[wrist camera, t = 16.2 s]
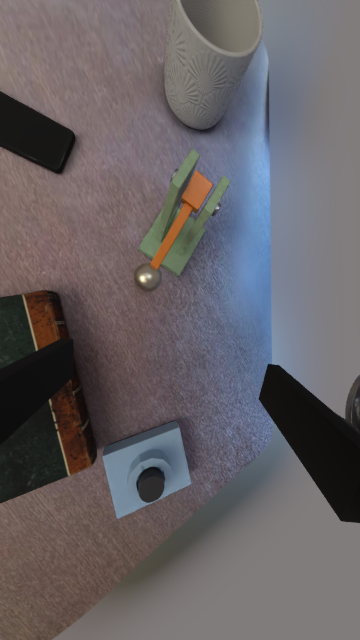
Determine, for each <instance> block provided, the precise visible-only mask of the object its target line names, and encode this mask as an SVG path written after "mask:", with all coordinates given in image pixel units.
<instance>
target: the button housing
mask: <svg viewBox="0 0 360 640" xmlns="http://www.w3.org/2000/svg"><path fill="white" fill-rule="evenodd" d="M102 457H103V461H104V466H105V470H106V474H107V478H108V483H109V487H110V491H111V495H112V500H113V504H114V508H115V512H116V517H117V519H119V518H121V517H123V516H125V515H127V514H130V513H132V512H134V511H136V510H138V509H140V508H142V507H144V506H146V505H148V504H151V503H153V502H151V503H146V502H144V501H142V500H141V499H140V497H139V490H138V480H139V476H140V475H141V473H142V472H143V471H144V470H145V469H147V468H149V467H157V468H159V469H160V470H161V472H162V475H163V480H164V491H163V494H162V495H161V497H160V498H159V499H157V500H160V499H161V498H163V497H165V496H167V495H169V494H172V493H174V492H176V491H178V490H180V489H182V488H184V487H186V486H188V485H190V484H191V479H190V475H189V470H188V465H187V461H186V456H185V451H184V446H183V442H182V437H181V432H180V428H179V425H178V423H177V421H173V422H170V423H167V424H165V425H162V426H159V427H157V428H154V429H151V430H148V431H146V432H143V433H140V434H138V435H135V436H132V437H129V438H127V439H124V440H121V441H119V442H116V443H113V444H110V445H108V446H105V447H104V452H103V456H102ZM157 500H156V501H157ZM154 502H155V501H154Z"/></svg>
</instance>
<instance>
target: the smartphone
mask: <svg viewBox="0 0 360 640" xmlns="http://www.w3.org/2000/svg"><path fill="white" fill-rule="evenodd" d="M74 141H75V135H74V133H73V132H72V131H71V130H69V129H68V128H66V127H64V126H62V125H60V124H59V123H57V122H55V121H53V120H51V119H50V118H48V117H46V116H44V115H42V114H40V113H39V112H37V111H35V110H33V109H31V108H30V107H28V106H26V105H24V104H22V103H20V102H19V101H17V100H15V99H13V98H11V97H10V96H8V95H6V94H4V93H2V92H0V146H1V147H3V148H5V149H7V150H9V151H12V152H14V153H16V154H18V155H20V156H22V157H24V158H26V159H28V160H30V161H32V162H34V163H36V164H38V165H40V166H42V167H44V168H47V169H49V170H51V171H53V172H55V173H61V172H62V169H63V167H64V165H65V162H66V160H67V158H68V155H69V153H70V150H71V148H72V146H73V143H74Z"/></svg>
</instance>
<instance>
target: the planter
mask: <svg viewBox="0 0 360 640" xmlns="http://www.w3.org/2000/svg"><path fill="white" fill-rule="evenodd" d="M262 31H263V19H262V14H261V9H260V5H259V2H258V0H171V1H170V10H169V20H168V31H167V41H166V53H165V68H164V85H165V93H166V97H167V100H168V103H169V105H170V107H171V109H172V111H173V112H174V114H175V115H176V116H177V118H178V119H179V120H180V121H181V122H183V123H184V124H185V125H187V126H189V127H191V128H194V129H201V130H202V129H208V128H210V127H212V126H214V125H215V124H216V123H217V122H218V121H219V120H220V119H221V118H222V116H223V115H224V113H225V111H226V110H227V108H228V106H229V104H230V102H231V101H232V99H233V97H234V95H235V93H236V91H237V89H238V87H239V85H240V83H241V80H242V78H243V76H244V74H245V72H246V70H247V68H248V66H249V64H250V62H251V60H252V58H253V56H254V54H255V51H256V49H257V47H258V45H259V43H260V41H261V37H262Z"/></svg>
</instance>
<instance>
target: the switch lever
mask: <svg viewBox="0 0 360 640" xmlns="http://www.w3.org/2000/svg"><path fill="white" fill-rule="evenodd" d="M212 186H213V183H211V182H210V181H209V180H208V179H207V178H205V177H204V176H203V175H202V174H201V173H199V172H198V171H197V170H196V172H195V173H194V175H193V177H192V179H191V181H190V182H189V184H188V186H187V188H186V190H185V191H184V193H183V195H182V198H181V202H182V203H183V204H184V205H183V207H182V209H181V211H180V212H179V214H178V216H177V218H176V219H175V221H174V223H173V225H172V227H171V228H170V230H169V232H168V234H167V235H166V237H165V239H164V241H163V243H162V244H161V246H160V248H159V250H158V251H157V253H156V255H155V257H154V259H153V260H152V262H151V263H144V264H141V265H140V266H138V267H137V269H136V270H135V273H134V281H135V283H136V285H137V286H138V287H139V288H140V289H142V290H144V291H153V290H155V289H157V288H158V287H159V285H160V284H161V281H162V275H161V272H160V270H159V269H158V268H159V267H160V265H161V263H162V262H163V260H164V258H165V256H166V255H167V253H168V251H169V250H170V248H171V246H172V244H173V243H174V241H175V239H176V238H177V236H178V234H179V233H180V231H181V229H182V227H183V226H184V224H185V222H186V221H187V219H188V217H189V215H190V214H191V212H192V211H193V212H195V213H197V211H198V210H199V208H200V206H201V205H202V203H203V201H204V200H205V198H206V196H207V195H208V193H209V191H210V190H211V188H212Z"/></svg>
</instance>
